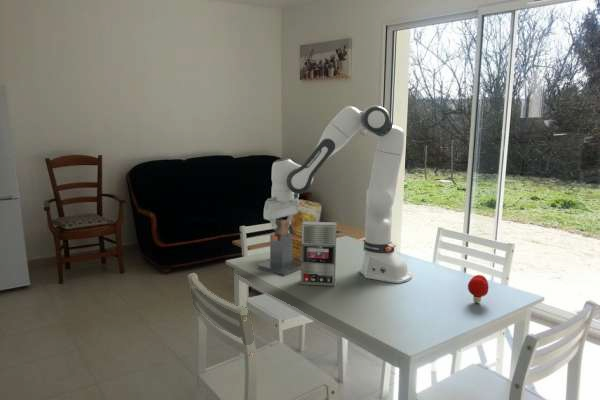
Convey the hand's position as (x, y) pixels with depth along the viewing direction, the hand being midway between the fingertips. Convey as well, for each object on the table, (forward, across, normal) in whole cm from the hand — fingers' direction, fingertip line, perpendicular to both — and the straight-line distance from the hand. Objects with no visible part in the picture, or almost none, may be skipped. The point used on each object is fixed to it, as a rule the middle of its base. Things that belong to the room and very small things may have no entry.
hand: (281, 226), depth 204 cm
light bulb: (+19, +16, -81) cm, 85 cm away
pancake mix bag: (+19, +18, +2) cm, 26 cm away
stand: (+19, 0, 0) cm, 19 cm away
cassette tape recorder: (+19, -5, -24) cm, 31 cm away
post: (+17, 0, 0) cm, 17 cm away
